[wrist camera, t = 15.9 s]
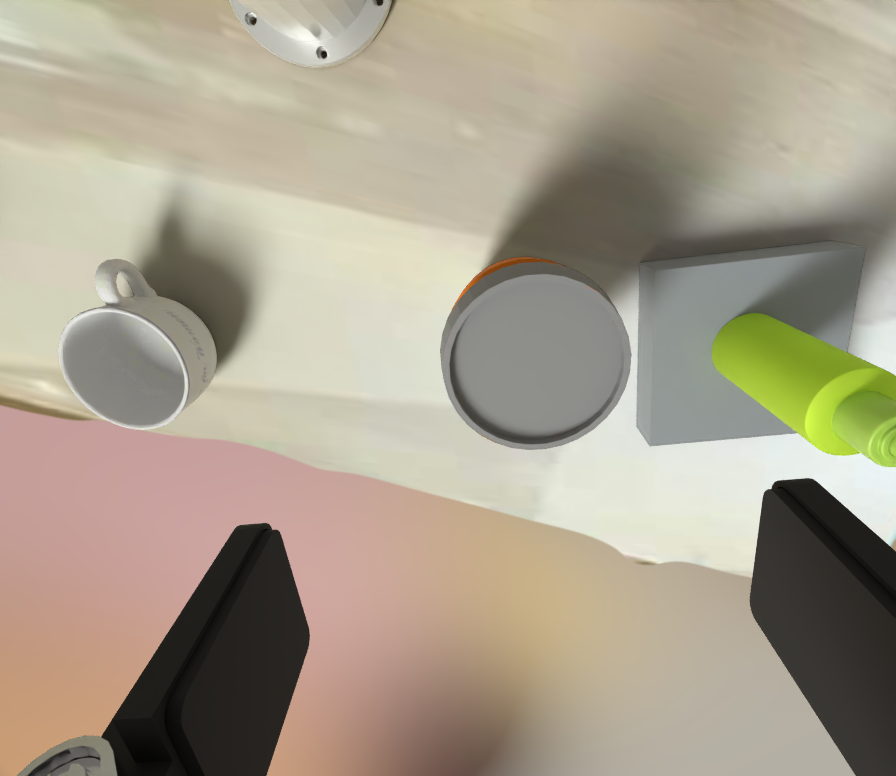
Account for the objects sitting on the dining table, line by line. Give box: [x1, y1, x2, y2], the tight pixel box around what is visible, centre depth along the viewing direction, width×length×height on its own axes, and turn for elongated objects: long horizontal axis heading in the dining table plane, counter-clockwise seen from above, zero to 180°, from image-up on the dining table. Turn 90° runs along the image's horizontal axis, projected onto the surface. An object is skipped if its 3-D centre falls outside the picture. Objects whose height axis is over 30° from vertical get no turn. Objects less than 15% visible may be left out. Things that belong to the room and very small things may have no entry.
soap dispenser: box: [712, 313, 896, 467], centre depth 35 cm, size 6×7×20 cm
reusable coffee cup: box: [440, 257, 631, 450], centre depth 40 cm, size 13×12×15 cm
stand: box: [637, 241, 866, 446], centre depth 46 cm, size 16×16×4 cm
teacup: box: [59, 259, 217, 430], centre depth 45 cm, size 14×11×8 cm
